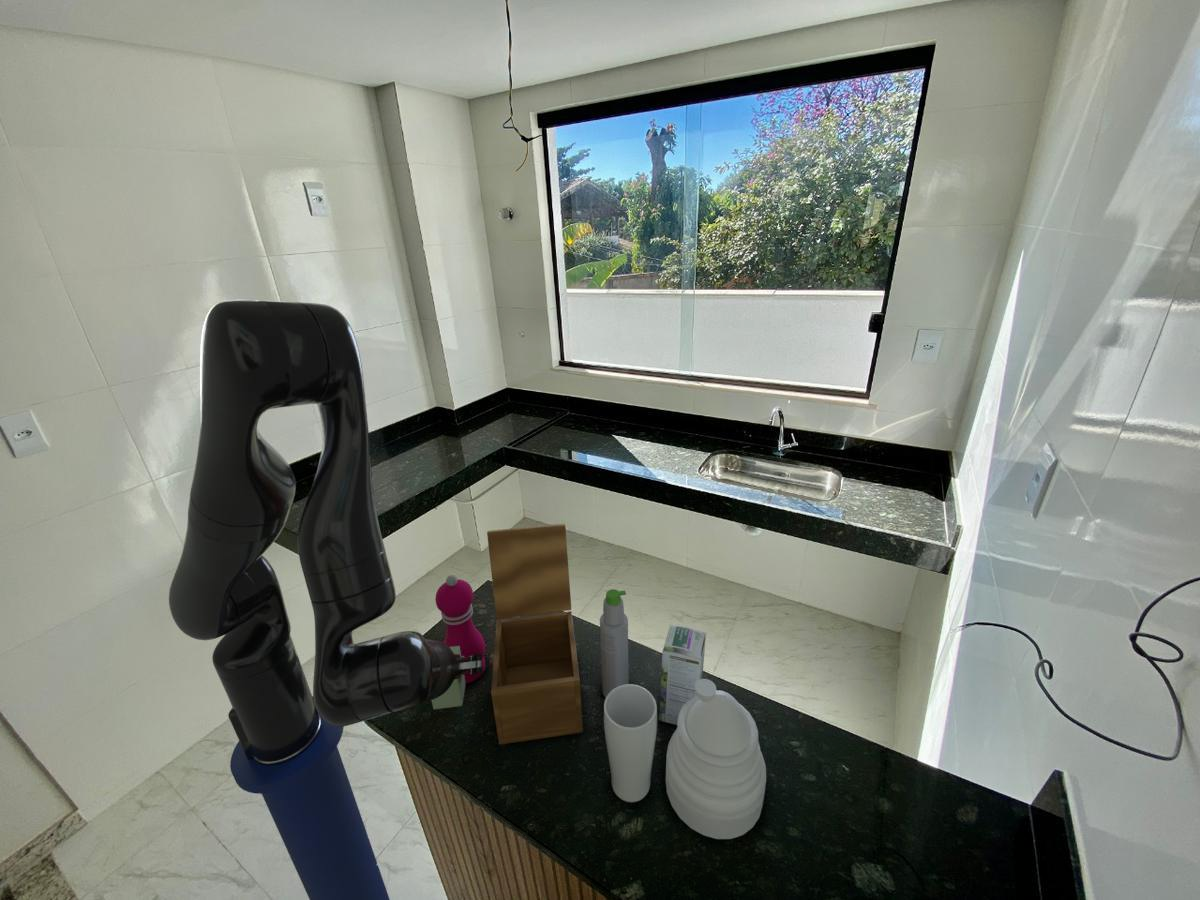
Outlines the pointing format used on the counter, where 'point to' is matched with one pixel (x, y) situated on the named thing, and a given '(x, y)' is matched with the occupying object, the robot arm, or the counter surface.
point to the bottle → (614, 642)
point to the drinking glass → (630, 739)
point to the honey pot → (715, 765)
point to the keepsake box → (536, 678)
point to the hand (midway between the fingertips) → (448, 667)
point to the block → (452, 691)
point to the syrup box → (680, 670)
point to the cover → (529, 570)
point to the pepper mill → (460, 620)
